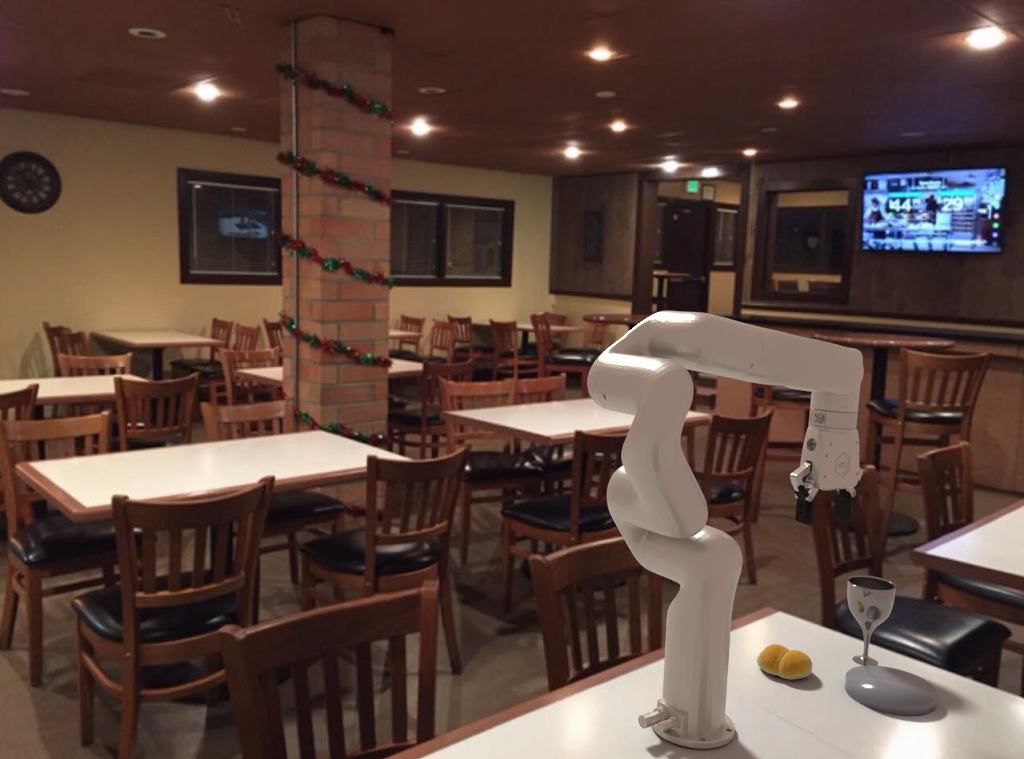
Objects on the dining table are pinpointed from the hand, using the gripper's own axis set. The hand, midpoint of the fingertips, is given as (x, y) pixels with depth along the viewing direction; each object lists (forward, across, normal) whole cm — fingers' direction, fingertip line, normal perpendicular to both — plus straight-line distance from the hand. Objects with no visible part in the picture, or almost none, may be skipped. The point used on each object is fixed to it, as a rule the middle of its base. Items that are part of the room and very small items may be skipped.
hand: (823, 520), depth 147 cm
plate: (+28, +8, -10) cm, 31 cm away
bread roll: (+28, +2, +2) cm, 29 cm away
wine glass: (+28, +15, 0) cm, 32 cm away
